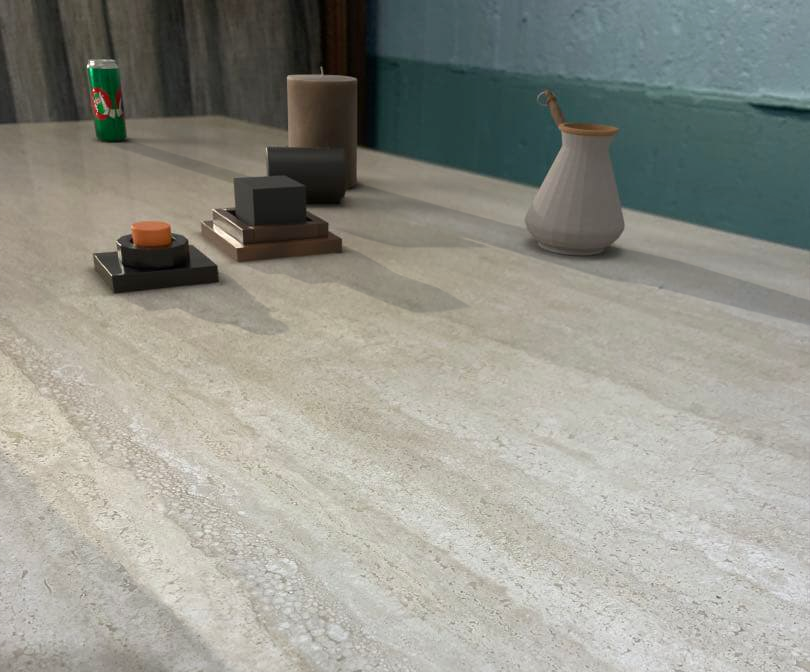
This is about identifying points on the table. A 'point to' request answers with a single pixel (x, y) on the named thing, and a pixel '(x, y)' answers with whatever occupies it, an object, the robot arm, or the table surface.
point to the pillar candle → (324, 115)
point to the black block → (269, 200)
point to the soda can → (106, 100)
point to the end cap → (311, 170)
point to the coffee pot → (577, 191)
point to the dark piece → (154, 265)
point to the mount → (269, 237)
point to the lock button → (151, 233)
